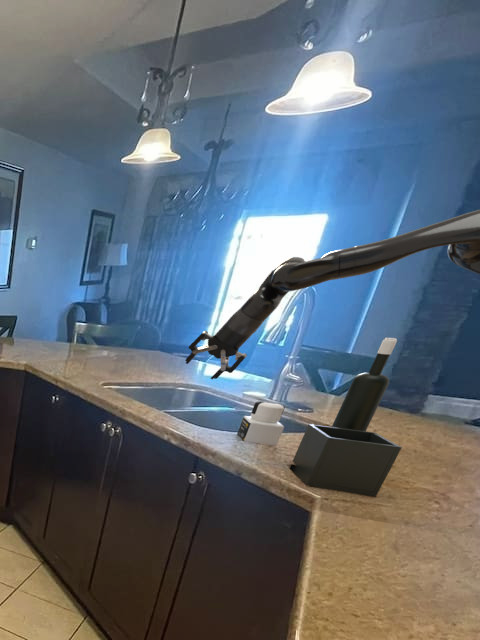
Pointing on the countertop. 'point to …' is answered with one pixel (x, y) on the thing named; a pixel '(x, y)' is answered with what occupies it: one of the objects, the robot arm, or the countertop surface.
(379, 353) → the wine bottle
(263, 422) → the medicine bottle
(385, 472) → the bin
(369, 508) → the countertop surface
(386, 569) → the countertop surface
